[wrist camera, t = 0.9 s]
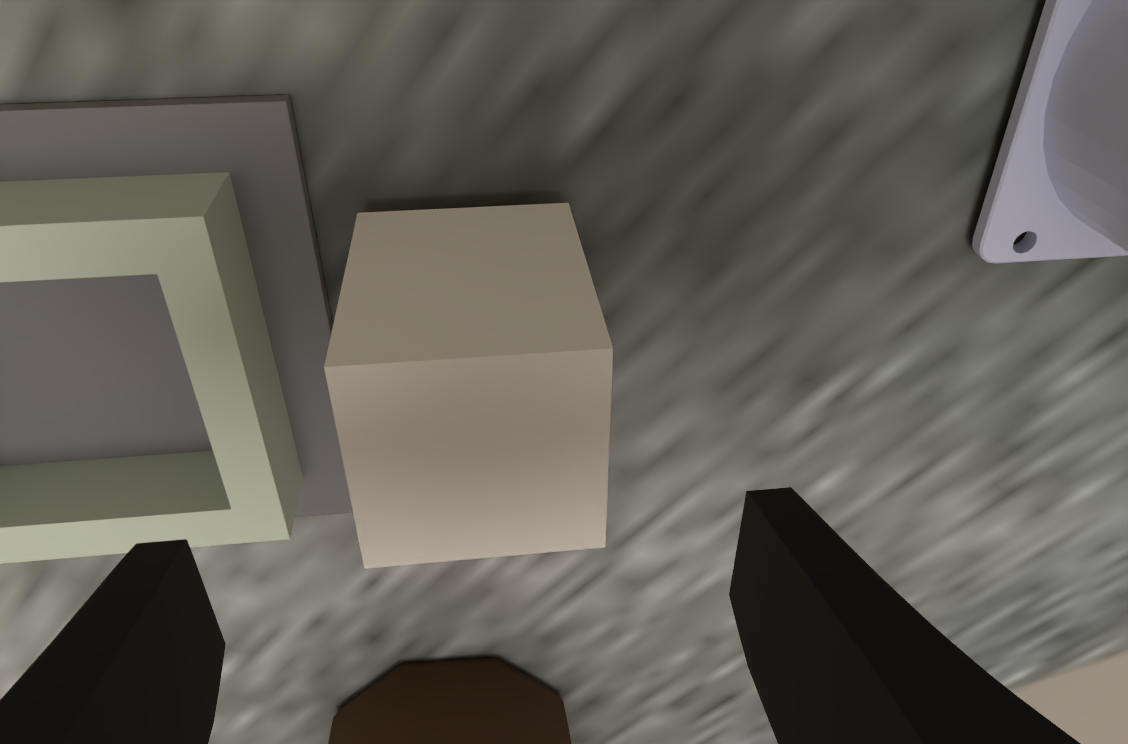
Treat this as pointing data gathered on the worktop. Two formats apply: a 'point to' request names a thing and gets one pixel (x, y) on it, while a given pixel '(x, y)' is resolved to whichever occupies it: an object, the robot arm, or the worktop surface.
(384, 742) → the beer bottle
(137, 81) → the worktop surface
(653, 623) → the worktop surface
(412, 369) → the plug
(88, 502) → the socket block
